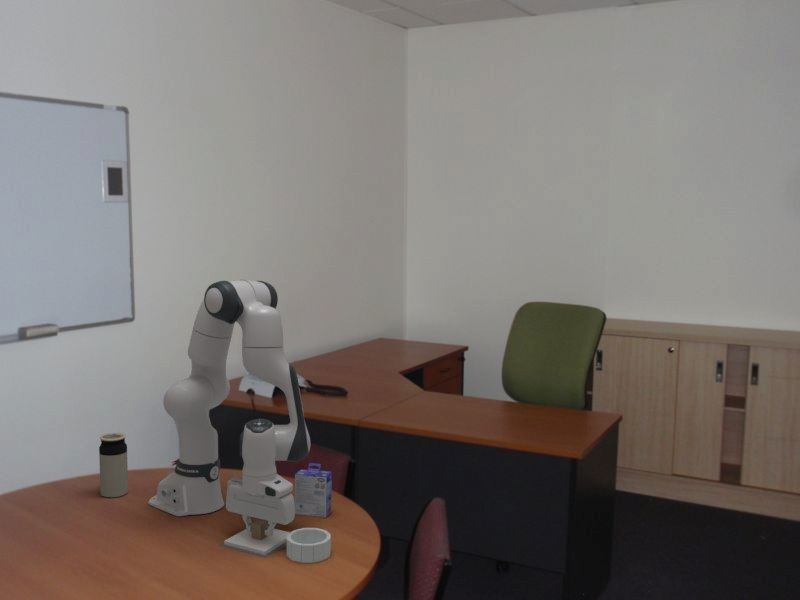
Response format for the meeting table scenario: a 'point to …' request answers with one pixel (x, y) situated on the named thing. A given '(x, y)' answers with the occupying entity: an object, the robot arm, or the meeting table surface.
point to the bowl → (308, 545)
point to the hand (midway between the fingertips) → (259, 533)
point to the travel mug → (113, 465)
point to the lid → (258, 539)
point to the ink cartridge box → (313, 492)
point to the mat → (253, 552)
